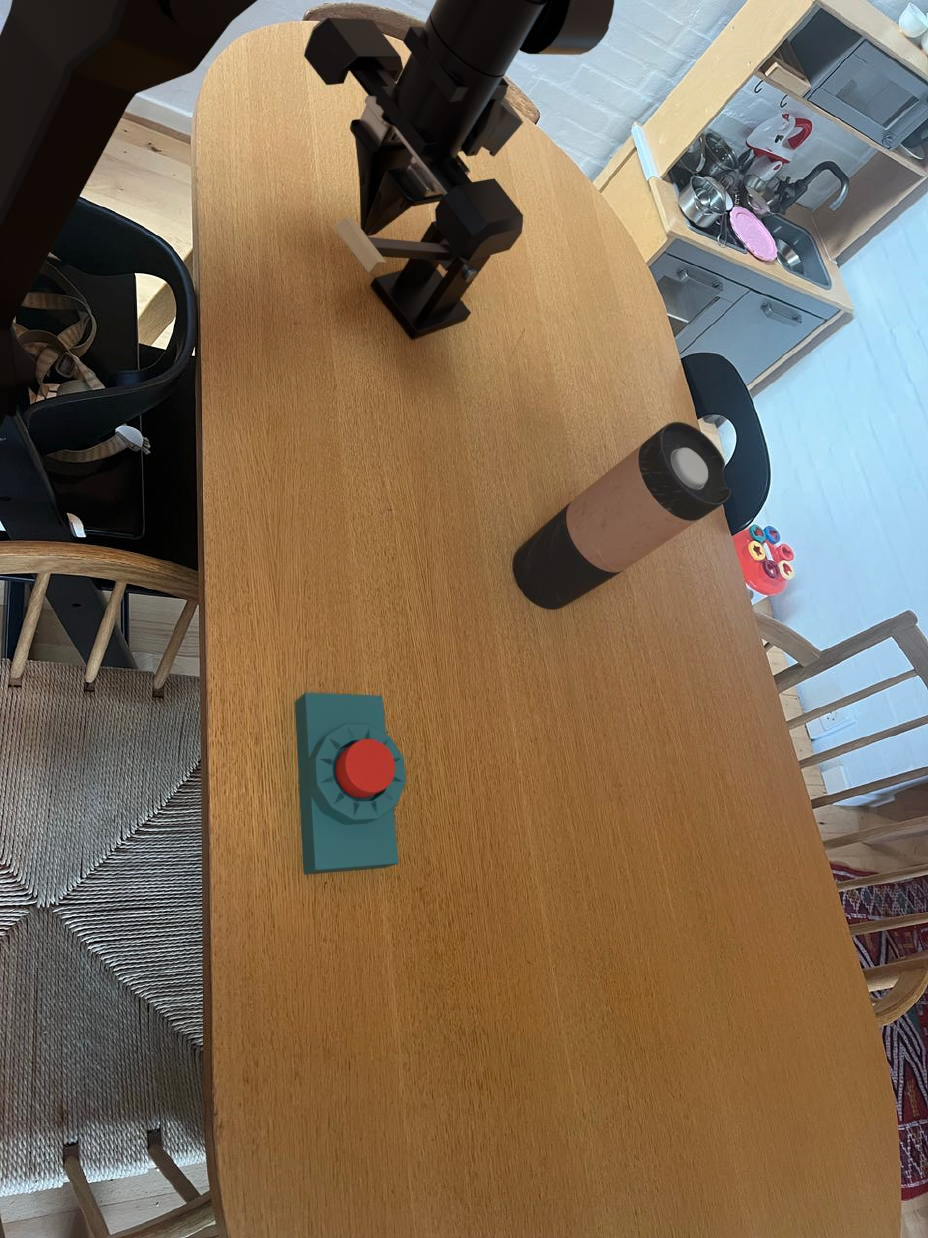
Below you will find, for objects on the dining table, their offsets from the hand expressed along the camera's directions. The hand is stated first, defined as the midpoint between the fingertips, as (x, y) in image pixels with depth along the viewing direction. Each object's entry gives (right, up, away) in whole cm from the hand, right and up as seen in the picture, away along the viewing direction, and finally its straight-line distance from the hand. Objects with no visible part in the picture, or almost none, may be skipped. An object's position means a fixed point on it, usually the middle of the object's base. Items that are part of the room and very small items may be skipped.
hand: (367, 231), depth 61 cm
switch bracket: (+3, +2, +20) cm, 20 cm away
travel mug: (+15, -27, +13) cm, 33 cm away
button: (+1, -41, -9) cm, 42 cm away
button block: (-1, -42, -6) cm, 43 cm away
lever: (+2, +2, +9) cm, 9 cm away
